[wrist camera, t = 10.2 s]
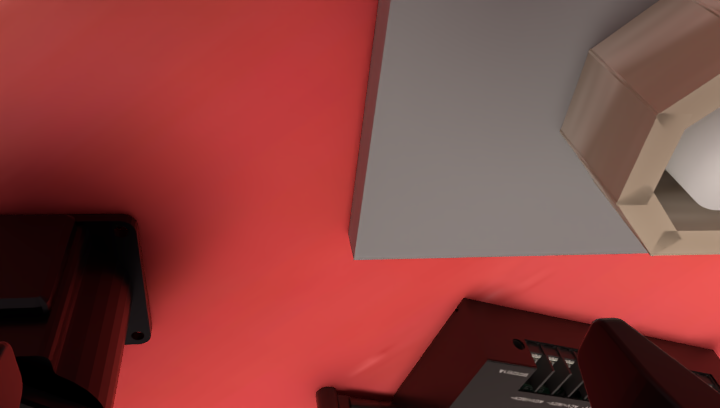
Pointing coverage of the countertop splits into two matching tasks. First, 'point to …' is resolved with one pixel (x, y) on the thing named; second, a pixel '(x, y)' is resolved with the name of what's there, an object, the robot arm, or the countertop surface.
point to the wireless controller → (507, 364)
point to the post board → (493, 133)
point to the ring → (650, 120)
